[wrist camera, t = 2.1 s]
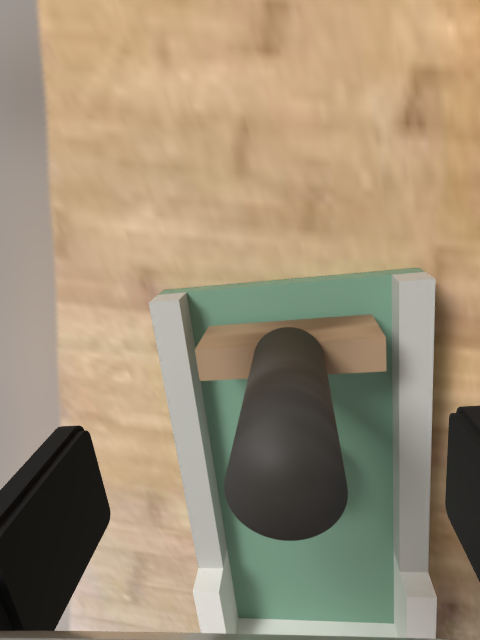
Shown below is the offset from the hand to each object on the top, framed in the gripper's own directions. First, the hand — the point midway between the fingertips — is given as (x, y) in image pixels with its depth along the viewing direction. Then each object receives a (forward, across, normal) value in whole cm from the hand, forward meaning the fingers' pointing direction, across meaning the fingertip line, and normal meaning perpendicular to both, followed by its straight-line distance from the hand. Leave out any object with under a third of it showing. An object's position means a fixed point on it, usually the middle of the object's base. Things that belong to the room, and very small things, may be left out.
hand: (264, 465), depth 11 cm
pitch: (+12, -1, +10) cm, 15 cm away
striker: (+10, -1, 0) cm, 11 cm away
